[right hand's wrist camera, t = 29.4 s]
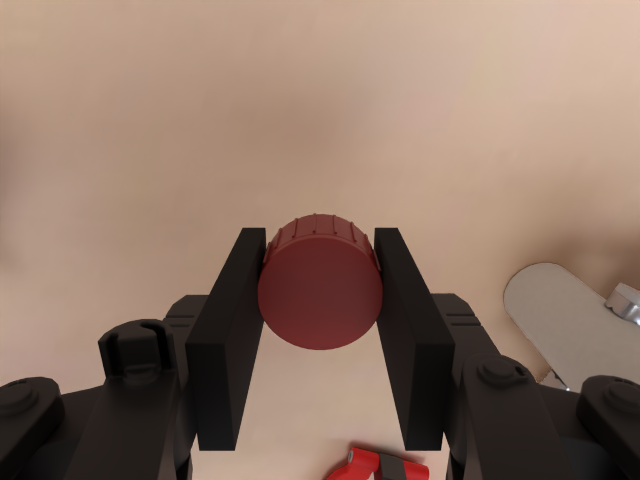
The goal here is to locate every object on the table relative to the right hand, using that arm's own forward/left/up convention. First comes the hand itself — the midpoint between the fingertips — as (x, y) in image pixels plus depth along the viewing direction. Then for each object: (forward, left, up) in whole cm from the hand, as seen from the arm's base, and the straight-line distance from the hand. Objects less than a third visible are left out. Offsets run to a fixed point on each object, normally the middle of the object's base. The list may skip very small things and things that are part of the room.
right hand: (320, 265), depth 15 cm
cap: (0, 0, +2) cm, 2 cm away
